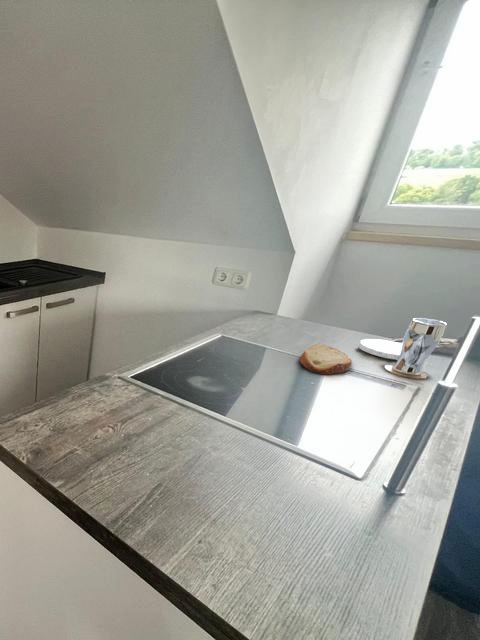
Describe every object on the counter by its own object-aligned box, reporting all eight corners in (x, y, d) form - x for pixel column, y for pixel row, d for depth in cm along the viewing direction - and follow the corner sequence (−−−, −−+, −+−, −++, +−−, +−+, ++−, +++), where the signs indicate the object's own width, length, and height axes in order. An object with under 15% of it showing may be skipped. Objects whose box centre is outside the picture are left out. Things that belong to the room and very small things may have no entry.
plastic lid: (425, 366, 115) (429, 359, 114) (365, 358, 120) (368, 351, 119) (405, 349, 126) (408, 342, 125) (351, 343, 132) (354, 336, 131)
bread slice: (326, 349, 127) (330, 338, 125) (376, 374, 111) (381, 362, 109) (272, 350, 127) (275, 340, 125) (314, 375, 110) (319, 363, 109)
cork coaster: (418, 368, 114) (419, 367, 113) (433, 381, 106) (434, 380, 106) (379, 363, 117) (379, 362, 117) (391, 375, 110) (391, 374, 110)
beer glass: (419, 369, 112) (443, 320, 106) (426, 378, 107) (452, 327, 101) (387, 363, 116) (408, 316, 110) (392, 372, 110) (415, 323, 104)
